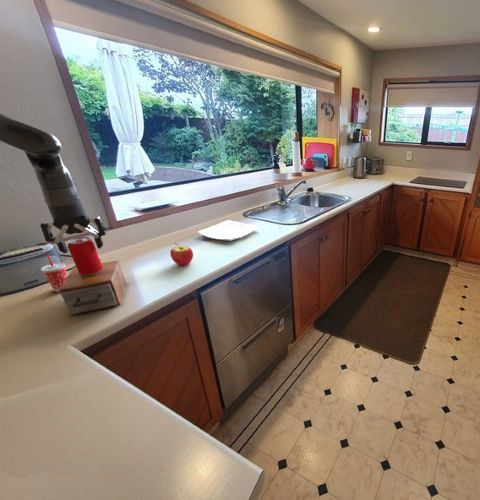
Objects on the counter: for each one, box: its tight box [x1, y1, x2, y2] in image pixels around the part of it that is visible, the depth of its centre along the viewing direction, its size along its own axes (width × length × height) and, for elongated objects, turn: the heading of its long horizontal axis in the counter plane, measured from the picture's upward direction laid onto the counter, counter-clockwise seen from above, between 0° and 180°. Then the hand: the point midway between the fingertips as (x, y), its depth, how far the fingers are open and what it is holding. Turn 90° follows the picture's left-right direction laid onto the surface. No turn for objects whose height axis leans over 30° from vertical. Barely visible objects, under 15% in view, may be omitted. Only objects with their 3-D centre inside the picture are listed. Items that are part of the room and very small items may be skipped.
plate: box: [197, 219, 259, 242], centre depth 155 cm, size 24×24×3 cm
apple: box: [169, 242, 194, 266], centre depth 121 cm, size 8×8×10 cm
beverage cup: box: [40, 253, 69, 293], centre depth 99 cm, size 6×6×14 cm
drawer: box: [61, 283, 118, 315], centre depth 93 cm, size 19×11×8 cm, turn 30°
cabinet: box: [59, 260, 127, 316], centre depth 96 cm, size 16×13×10 cm
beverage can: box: [67, 236, 103, 276], centre depth 92 cm, size 6×6×12 cm
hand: (83, 250), depth 91 cm, fingers open, 8 cm apart
